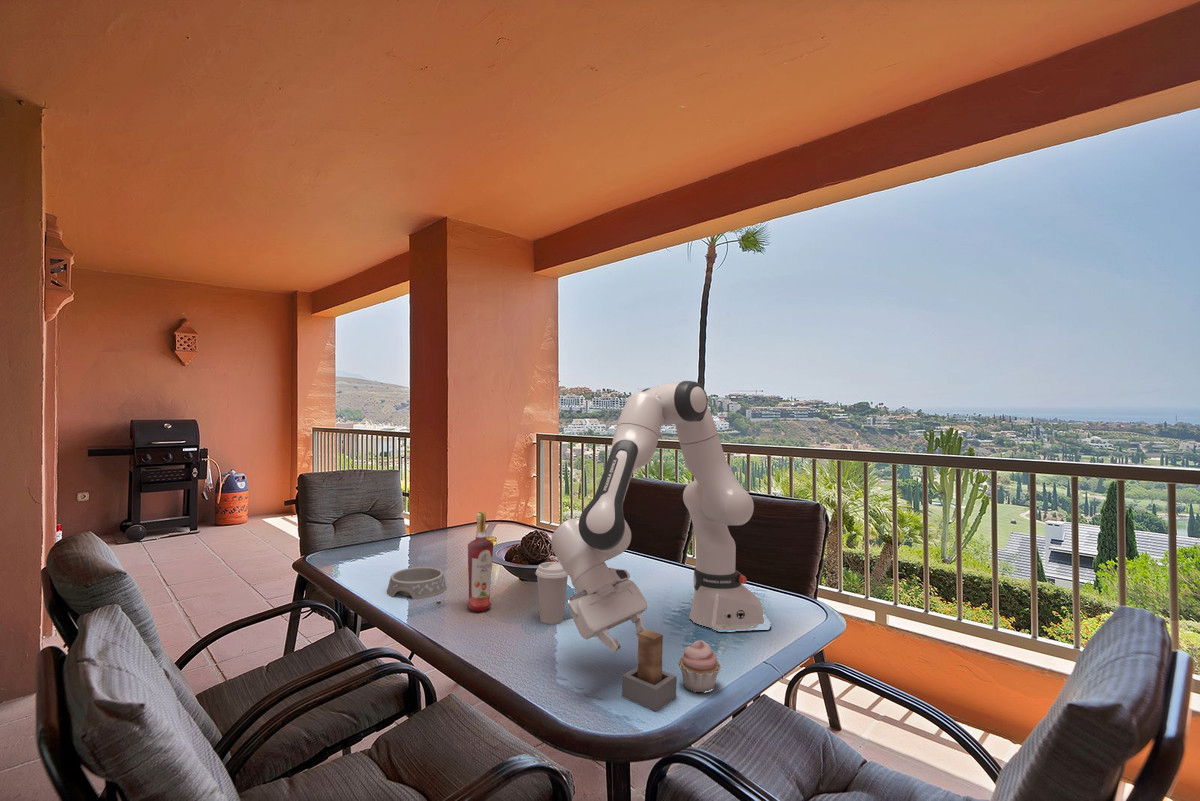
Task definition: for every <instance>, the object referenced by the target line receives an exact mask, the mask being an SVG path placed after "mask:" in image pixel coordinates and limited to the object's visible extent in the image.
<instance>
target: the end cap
mask: <svg viewBox="0 0 1200 801" xmlns="http://www.w3.org/2000/svg"><path fill="white" fill-rule="evenodd" d="M621 678H622V679H621V680H622V682H621V687H622V688H621V697H623V698H625V699H626V700H629V701H631V702H634V703H636V704H638V705H640V706H643V707H644V708H647V709H649V710H651V711H653V712H655V713H657V712H658V711H659V710H660V709H662V708H663V707H665V706H667V705H668V704H669V703H671V700H672V701H673V700H674V699H676V698H677V682H678V680H677V679H678V678H677V675H675V674H673V673H670V672H667V671H665V670H662V681H660V682H659V683H657V684H656V685H653V684H650V683H648V682H646V681H643V680H641V679H638V666H636V667H634V668H632V669H631V670H629V671H627V672H626V673H624V674H622V677H621ZM675 697H676V698H675ZM664 705H665V706H664Z"/></svg>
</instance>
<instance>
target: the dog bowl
mask: <svg viewBox="0 0 1200 801" xmlns="http://www.w3.org/2000/svg"><path fill="white" fill-rule="evenodd" d="M446 590H447V584H446V580H445V575H444V571H443V570H442V569H440V568H436V567H433V566H432V567H430V566H429V567H428V566H417V567H416V566H415V567H408V568H405V569H404V568H403V569H400V570H398V571H395V572H394V573H392V574H391V575H390V578H389V582H388V587H387V589H386V595H387V596H389V597H390V598H394V596H395V595H396V594H398V595H399V594H400V595H401V596H402V595H403V596H410V597H411V598H412V600H421V599H428V598H431V597H435V596H438V595H441V594H444V593H445V592H446Z"/></svg>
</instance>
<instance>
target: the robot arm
mask: <svg viewBox="0 0 1200 801" xmlns="http://www.w3.org/2000/svg"><path fill="white" fill-rule="evenodd" d="M708 404H709V401H708V395H707V392H706V390H705V389H704V387H703V386H702V385H701V384H700V383H698V382H697V381H693V380H683V381H681V382H680V381H678V382H677V381H676V382H669V383H663V384H661V385H657V386H653V387H651V388H649V387H648V388H646V389H642V390H640V391H636V392H634V393H632V394H631V395H630V396H629V397H628V398H627V400H626V402H625V404H624V406H623V407H622V410H621V413H620V415H619V418H618V421H617V424H616V427H615V430H614V434H613V438H612V443H611V448H610V450H609V451H610V452H609V456H608V458H607V461H606V464H605V467H604V469H603V473H602V476H601V478H600V481H599V484H598V487H597V489H596V492H595V494H594V496H593V498H592V499H591V500H590V501H589V503H588V504H586V506H585V507H584V510H583V511H582V513H581V514H580V516H579V519H578V518H577V519H576V518H568V519H566V520H565V521H563V522H562V523H560V524H559V525H558V526H557V527H556V529H555V530H554V532H553V534H551V540H550V541H551V546H552V550H553V552H554V554H555V556H556V558H557V560H558V562H560V564H561V566H562V568H563V569H564V570H565V571H566V572H567V573H568V577H569V579H570V580H571V585H572V586H573V588H574V590H575V592H576V593H575V594H571V595H569V597H568V600H567V607H568V609H569V610H570V614H571V616H572V620H573V622H574V625H575V627H576V629H577V632H578V634H579V635H580V637H581V638H583V639H584V640H589V639H591V638H594V637H595V636H596V637H597V638H598V640H599V641H600V642H602V643H603V644H604V645H606V646H607V647H608V649H609V651H610V652H611V653H615V652H618V650H620V649H621V644H620V643H619V640H618V638H616V639H614V638H613V637H611V636H610V632H609V630H611V629H613V628H615V627H617V626H619V625H621V624H623V623H625V622H628V621H630V622H631V623H632V624H634V625H635V629H636V630H635V631H634V633H635V635H636V636H637V637H638V634H639V633H641V632H643V631H645V630H647V629H646V628H645V626H644V620H643V616H642V614H643V613H644V612H645V611H646V610H647V609H648V602H647V600H646V597H645V596H644V595H643V593H642V591H641V590H640V588H639V587H638V586H637V584H636V583H635V582H634V581H633V580H631V579H630V578H631V575H630V573H629V572H628V570H627V569H621V568H620V569H619V568H614V567H609V566H608V565H607V564H606V561H609V560H611V559H613V558H615V557H618V556H620V555H622V554H623V553H624V552H625V551H627V549H628V548H629V547H630V544H631V541H632V530H631V528H630V526H629V524H628V522H627V520H626V519H625V517H624V510H623V509H624V508H623V506H624V501H625V497H626V494H627V491H628V489H629V485H630V482H631V479H632V475H633V473H634V471H635V470H636V469H639V468H641V467H645V466H646V465H648V464H649V463H650V462H651V460H652V458H653V456H654V454H655V451H656V448H657V446H658V443H659V438H660V435H661V429H662V426H672V425H675V429H676V434H677V438H678V442H679V446H680V450H681V454H682V455H683V456H682V457H683V460H684V463H685V466H686V467H685V468H687V471H688V473H690V474H691V475H692V477H694V480H693V481H690V482H689V483H688V484H687V485H686V486H685V488H684V489H683V494H682V500H683V503H684V505H685V508H686V509H687V511H688V513H689V516H690V519H691V523H692V527H693V528H692V529H693V533H694V538H695V539H694V540H695V567H694V570H693V588H694V592H693V599H692V605H691V609H690V613H689V615H688V618H689V620H690V619H691V620H692V621H693V622H692V621H691V620H690V621H691V622H692V623H694V622H695V623H697V624H700V625H704V626H708V627H711V628H714V629H716V630H736V629H748V628H756V627H758V626H757V625H759V624H763V623H764V618H763V613H764V611H763V610H764V609H763V606H762V604H761V601H760V599H759V598H758V597H757V595H755V594H754V593H753V592H752V591H751V590H749V589H748V588H747V587H746V586H745V584H746V583H747V582H748V580H747V579H748V578H747V577H746V575H743V574H742V573H741V572H739V570H736V558H737V557H736V556H737V555H736V552H737V551H736V549H737V547H736V546H737V545H736V541H735V540H734V538H733V536H732V535H731V533H730V530H729V526H743V525H745V524H746V523H748V522H749V521H750V519H751V518H752V516H753V514H754V508H755V503H754V500H753V498H752V496H751V495H750V494H749V493H748V491H746V490H745V489H744V488H743V486H742V485H741V483H739V480H738V479H737V478H736V476H735V473H734V472H733V470H732V469H731V466H730V465H729V463H728V461H727V458H726V457H725V452H724V449H723V447H722V442H721V440H720V439H721V438H720V436H719V433H718V432H719V431H718V429H717V426H716V423H715V421H714V420H715V419H714V418H713V415H712V412H710V409H709V406H708ZM695 623H694V624H695ZM697 624H696V625H697ZM700 625H699V626H700ZM751 626H753V627H751Z"/></svg>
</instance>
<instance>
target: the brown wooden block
mask: <svg viewBox="0 0 1200 801" xmlns="http://www.w3.org/2000/svg"><path fill="white" fill-rule="evenodd" d="M663 635H664V634H661V633H659V632H655V631H653V630H650V629H646V630H645V631H643V632H641V633H639V634H638V636H637V637H638V638H637V639H638V640H637V641H638V642H637V644H638V645H637V667H638V679H641V680H643V681H646V682H648V683H650V684H653V685H656V684H657V683H659V682H660V681H662V671H663V640H664V638H663V637H664V636H663Z"/></svg>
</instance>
